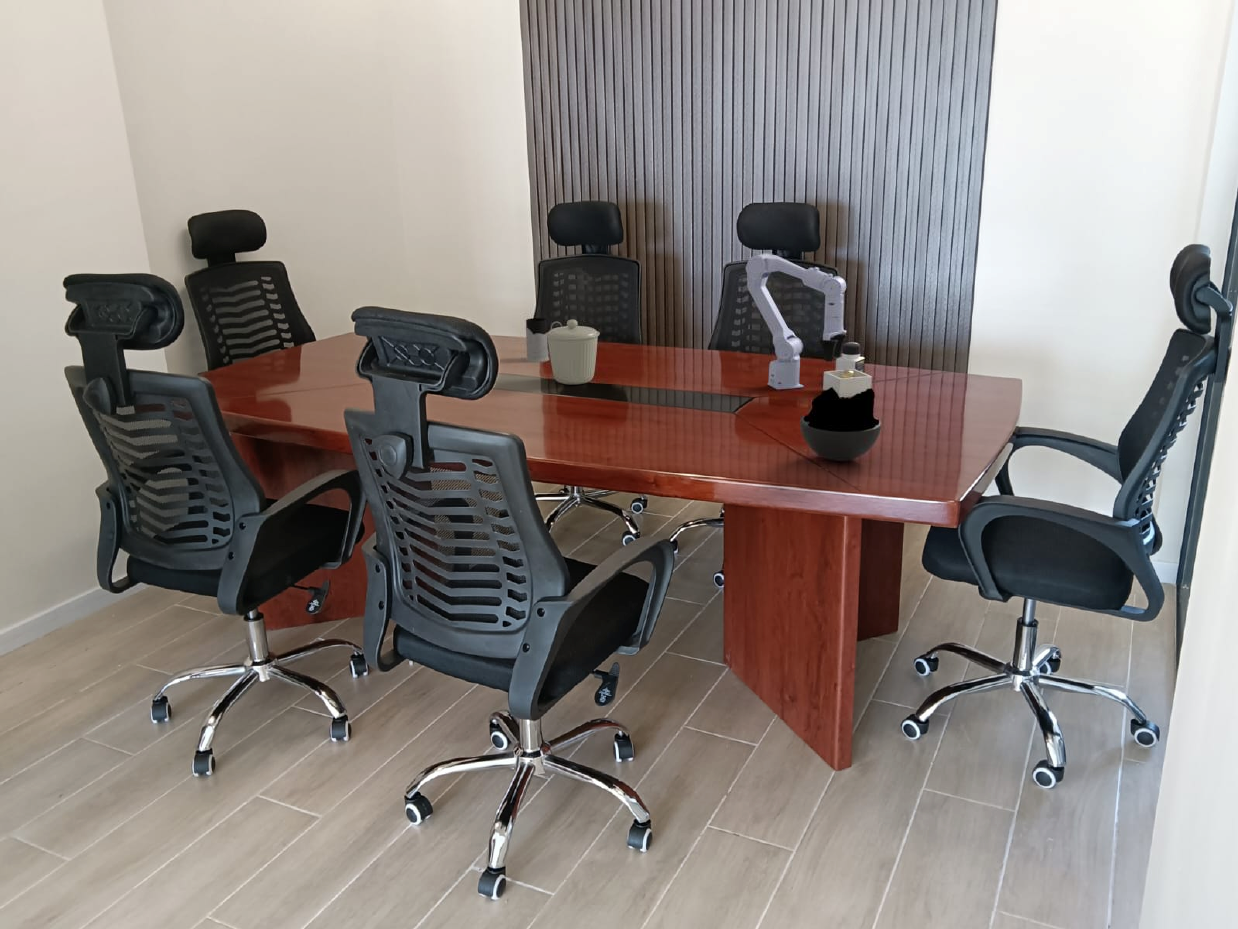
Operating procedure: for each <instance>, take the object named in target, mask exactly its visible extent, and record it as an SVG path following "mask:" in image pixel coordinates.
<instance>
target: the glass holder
mask: <svg viewBox="0 0 1238 929" xmlns="http://www.w3.org/2000/svg"><path fill="white" fill-rule="evenodd" d="M556 323H557V324H559V325H560V327H563V324H562V323H561V322H559V321H554V322H553V323H551V325H550V330H552V329H553V325H554V324H556ZM525 325H526V326H525V339H526V340H525V341H526V358H525V361H527V362H530V363H545V362H548V361H550V356H549V355H550V351H549V345H548V338H547V337H546V335H545V334H546V333H547V330H548V329H547V326H548V325H547V318H542V317H533V318H526V319H525Z"/></svg>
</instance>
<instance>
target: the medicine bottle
mask: <svg viewBox="0 0 1238 929" xmlns="http://www.w3.org/2000/svg"><path fill="white" fill-rule="evenodd" d="M861 348H862V346H861V345H860V344H859V343H857V342H844V343H843V346H842V350H841V356H840V357H836V360H835V371H839V370H851V369H856V370H858V371H860V372H863V373H865V361H866V360H865V357H864V356H861Z"/></svg>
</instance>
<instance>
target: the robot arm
mask: <svg viewBox="0 0 1238 929" xmlns="http://www.w3.org/2000/svg"><path fill="white" fill-rule="evenodd" d="M745 272H746V279H747V280H746V284H747V289H748V292H749V293H750V295H751V297H752V299H753V301H754V303H755V305H756V307H757V308H758V310H759V312H760V314H761V315H762V317H763V319H764V322H765V324H766V325H767V326H768V328H769V331H770V333H771V335H772V344H773V346H774V350H775V355H776V357H777V358H776V359H775V360H771V361H770V363H769V365H768V368H769V369H768V382H767V385H768V386H769V387H772V388H773V389H776V390H788V389H789V390H791V389H798V388H800V389H801V388H804V385H803V384H800V366H801V362H800V361H801V357H800V354H801V353H802V352H803V349H804V343H803V342H802V340H801V339H800V338H799V337H797V336H796V335H795V333H794V331H793V330H791V329H790V328H788V325H787V324H786V322H785V320H784V318H783V316H782V315H781V312H780V311H779V309H778V307H777V305H776V303H775V301H774V300H773V298H772V296H771V294H770V292H769V290H768V288H767V286H766V284H767V282H768V279H769V276H770V275H771V273H774V272H782V273H783V274H787V275H790V276H792V277H795V278H798V279H800V280H801V281H802V283H803V285H804V286H807V287H809V288H811V289H814V290H815V291H819V292H820V293H823V295H825V302H824V330H823V333H822V337H821V338H818V339H819V342H818V343H819V344H820V346H821V348H822V352H823V356H824V360H825V362H830V363H831V362H833V360H834V358H840V357H841V355H842V346H843V344H845V341H846V339H847V337H848V334H847V330H845V329H844V307H845V306H844V303H845V302H844V295H845V294H844V293H845V291H846V289H847V282H846V281H845V279H843V278H842V277H841V276H839V275H836V276H833V274H832V273H827V272H823V271H821V270H820V268H819V267H816V266H815V267H809V268H808V269H806V268H804V267H801V266H800V265H797V264H795V263H793V262H791V261H790V260H787V259H785V258H783V257H780V256H779V255H775V254H771V253H769V252H764V253H762V254H759V255H753V256H751V257H750V258H749V259H748V261H747V264H746V266H745Z"/></svg>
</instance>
